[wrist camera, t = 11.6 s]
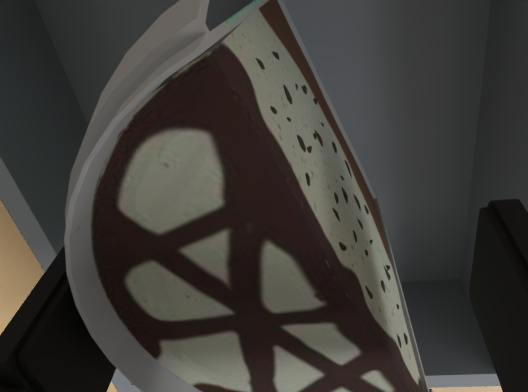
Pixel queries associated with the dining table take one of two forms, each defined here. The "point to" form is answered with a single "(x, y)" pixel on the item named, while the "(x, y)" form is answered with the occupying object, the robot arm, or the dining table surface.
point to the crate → (350, 114)
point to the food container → (232, 220)
